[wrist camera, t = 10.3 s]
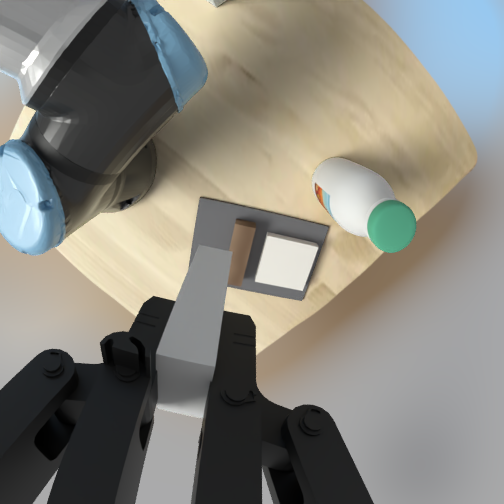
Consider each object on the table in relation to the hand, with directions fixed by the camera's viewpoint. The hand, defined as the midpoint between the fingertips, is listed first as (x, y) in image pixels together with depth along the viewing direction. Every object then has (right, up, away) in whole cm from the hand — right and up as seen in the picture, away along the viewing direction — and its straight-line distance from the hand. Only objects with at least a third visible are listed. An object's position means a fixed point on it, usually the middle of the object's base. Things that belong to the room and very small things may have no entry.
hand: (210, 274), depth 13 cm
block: (0, +1, +31) cm, 31 cm away
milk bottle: (+14, +12, +27) cm, 33 cm away
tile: (+3, 0, +31) cm, 31 cm away
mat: (+2, +1, +32) cm, 32 cm away
